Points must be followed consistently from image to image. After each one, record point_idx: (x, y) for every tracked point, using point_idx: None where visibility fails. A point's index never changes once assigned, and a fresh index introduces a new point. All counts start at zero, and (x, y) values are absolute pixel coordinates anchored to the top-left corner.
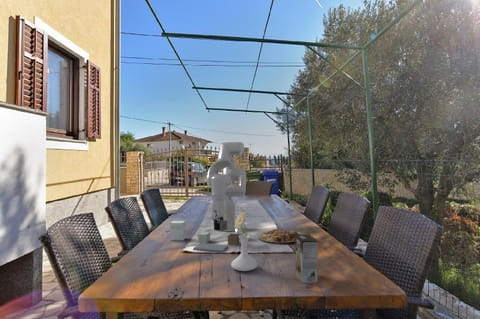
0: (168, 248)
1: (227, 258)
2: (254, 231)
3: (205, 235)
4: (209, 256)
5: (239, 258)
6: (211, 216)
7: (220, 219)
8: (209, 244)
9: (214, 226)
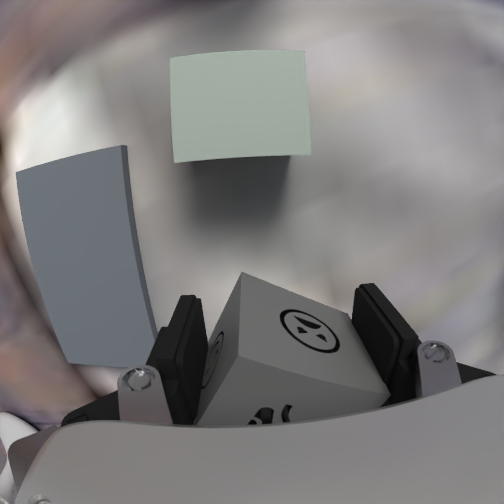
0: (23, 18)
1: (41, 389)
2: (498, 342)
3: (175, 155)
4: (7, 315)
5: (3, 444)
6: (49, 440)
7: (399, 382)
8: (117, 239)
9: (172, 328)
